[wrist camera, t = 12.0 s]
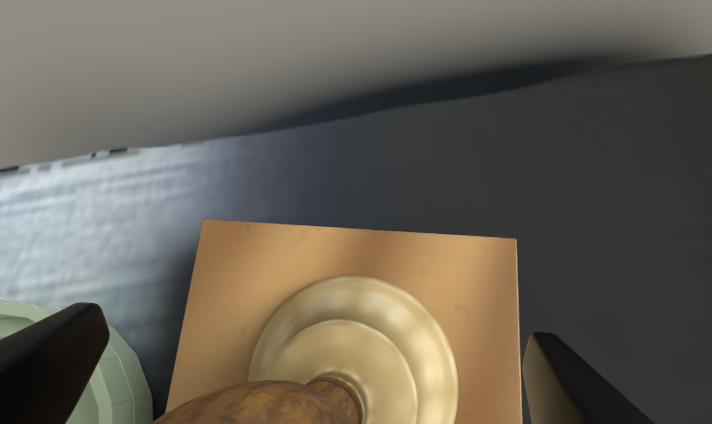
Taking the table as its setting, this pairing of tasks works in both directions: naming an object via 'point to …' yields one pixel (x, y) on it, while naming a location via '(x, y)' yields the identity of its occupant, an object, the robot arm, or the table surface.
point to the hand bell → (340, 363)
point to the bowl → (95, 373)
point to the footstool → (353, 258)
